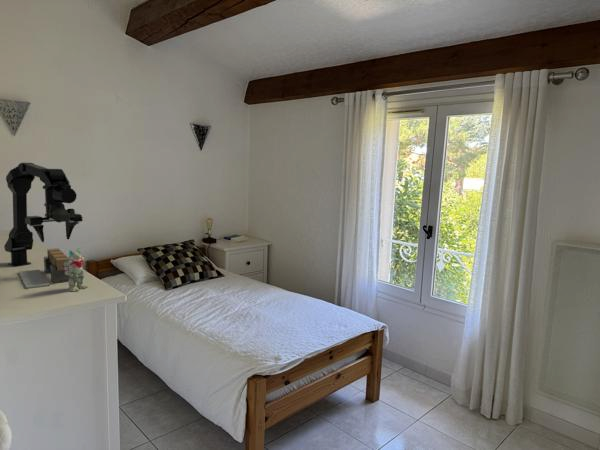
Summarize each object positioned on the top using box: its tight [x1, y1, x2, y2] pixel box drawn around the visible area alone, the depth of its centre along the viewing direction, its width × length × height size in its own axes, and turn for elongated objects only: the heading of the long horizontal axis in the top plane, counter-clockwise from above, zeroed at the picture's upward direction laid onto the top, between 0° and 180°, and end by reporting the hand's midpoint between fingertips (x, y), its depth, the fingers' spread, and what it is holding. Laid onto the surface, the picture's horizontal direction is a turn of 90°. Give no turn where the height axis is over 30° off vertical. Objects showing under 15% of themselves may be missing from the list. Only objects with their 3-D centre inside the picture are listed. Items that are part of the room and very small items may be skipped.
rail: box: [46, 247, 69, 271], centre depth 159 cm, size 22×4×4 cm, turn 40°
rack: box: [43, 256, 70, 284], centre depth 160 cm, size 20×7×6 cm, turn 40°
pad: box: [18, 268, 50, 290], centre depth 155 cm, size 25×7×1 cm, turn 40°
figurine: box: [62, 247, 89, 293], centre depth 145 cm, size 8×8×15 cm
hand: (55, 240), depth 159 cm, fingers open, 9 cm apart
